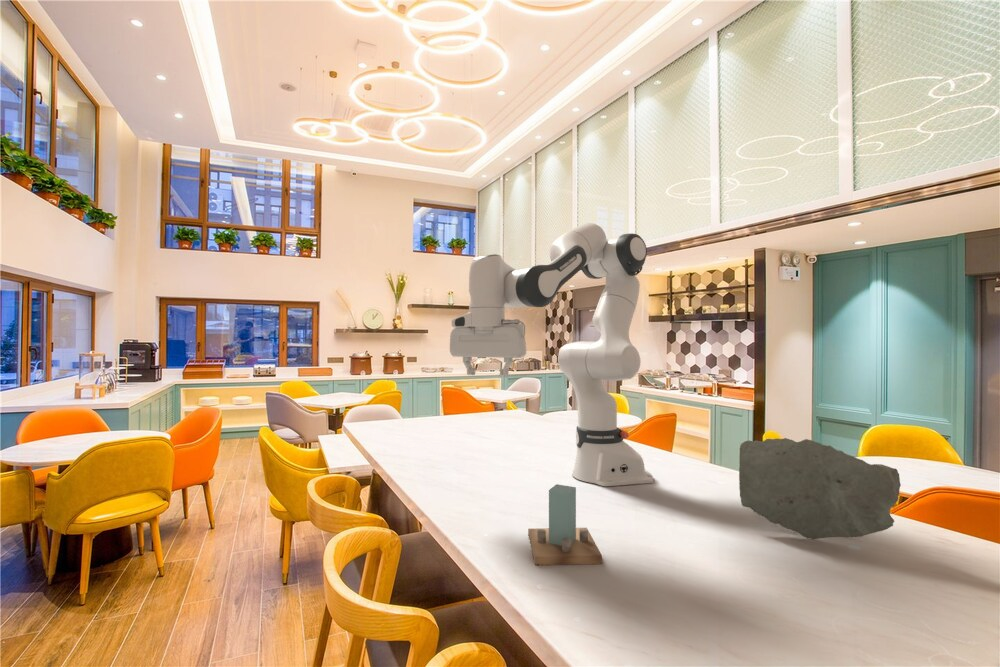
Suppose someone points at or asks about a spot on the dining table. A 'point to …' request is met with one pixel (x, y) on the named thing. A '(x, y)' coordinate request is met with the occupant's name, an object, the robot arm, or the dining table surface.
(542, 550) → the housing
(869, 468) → the rock
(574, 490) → the block
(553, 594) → the dining table surface
